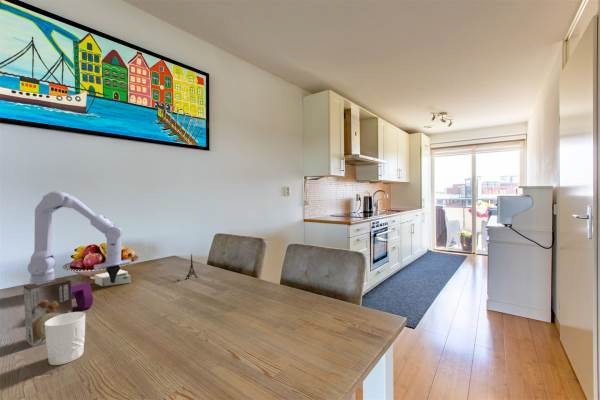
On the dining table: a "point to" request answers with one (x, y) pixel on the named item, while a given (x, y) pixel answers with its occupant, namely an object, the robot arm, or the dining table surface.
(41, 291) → the coffee box
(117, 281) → the door
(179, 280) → the dining table surface
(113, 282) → the robot arm
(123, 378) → the dining table surface
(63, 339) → the white cup
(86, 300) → the mounting bracket
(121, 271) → the cabinet
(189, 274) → the eiffel tower figurine
